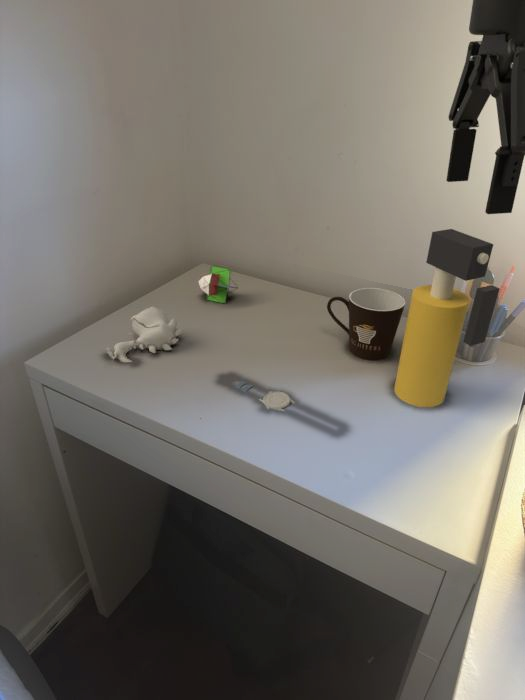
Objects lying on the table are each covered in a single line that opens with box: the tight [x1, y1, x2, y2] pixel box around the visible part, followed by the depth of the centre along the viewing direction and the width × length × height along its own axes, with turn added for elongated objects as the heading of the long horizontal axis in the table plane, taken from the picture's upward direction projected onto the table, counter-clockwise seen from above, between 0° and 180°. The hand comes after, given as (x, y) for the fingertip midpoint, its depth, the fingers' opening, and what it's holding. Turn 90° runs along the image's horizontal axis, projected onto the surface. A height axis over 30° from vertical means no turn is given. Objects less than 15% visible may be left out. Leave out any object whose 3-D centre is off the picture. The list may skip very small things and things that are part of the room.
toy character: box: [105, 306, 183, 363], centre depth 80 cm, size 6×9×12 cm
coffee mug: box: [326, 287, 406, 362], centre depth 81 cm, size 12×9×10 cm
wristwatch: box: [234, 380, 296, 412], centre depth 69 cm, size 4×20×1 cm, turn 53°
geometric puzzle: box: [197, 265, 239, 305], centre depth 98 cm, size 7×7×8 cm
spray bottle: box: [393, 228, 494, 408], centre depth 65 cm, size 7×9×24 cm
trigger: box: [462, 284, 501, 347], centre depth 59 cm, size 2×1×7 cm, turn 117°
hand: (475, 195), depth 63 cm, fingers open, 13 cm apart
